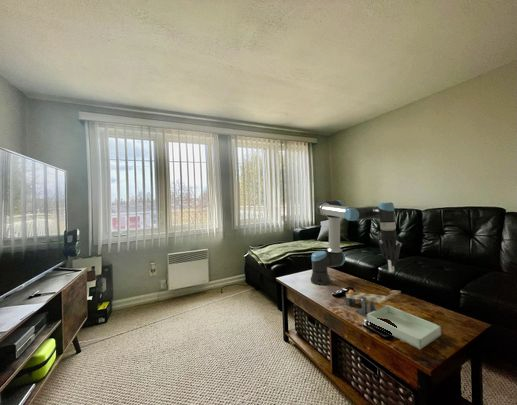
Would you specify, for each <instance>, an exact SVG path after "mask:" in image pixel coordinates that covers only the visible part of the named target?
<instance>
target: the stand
mask: <svg viewBox="0 0 517 405" xmlns="http://www.w3.org/2000/svg"><path fill="white" fill-rule="evenodd" d="M372 294H373V295H375V294H374V293H372ZM367 304H368V303H367V301H366V298H365V297H361V308H359V309H358V308H357V309H356V310H355V313H356V314H359V315H361V316H362V317H365V318H366V314H368V313H370V312H373V311H375V310H377V309H376V302H371V301H369V305H367ZM345 305H346V306H349V307H351V306H354V305H356V299H351V298H347V297H345Z"/></svg>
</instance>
